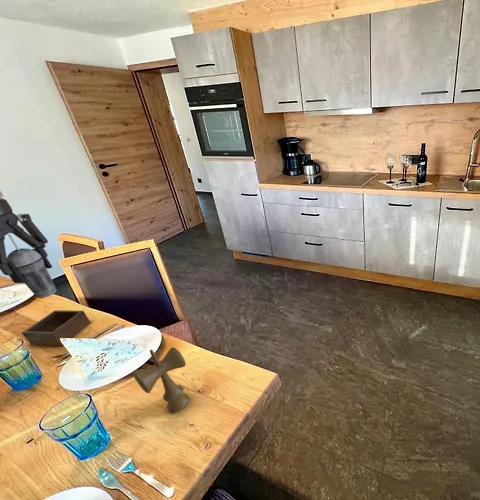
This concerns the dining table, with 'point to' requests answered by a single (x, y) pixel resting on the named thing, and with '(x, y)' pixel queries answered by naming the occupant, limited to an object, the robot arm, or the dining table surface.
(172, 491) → the dining table surface
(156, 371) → the kendama
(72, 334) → the crate
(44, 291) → the beverage cup
